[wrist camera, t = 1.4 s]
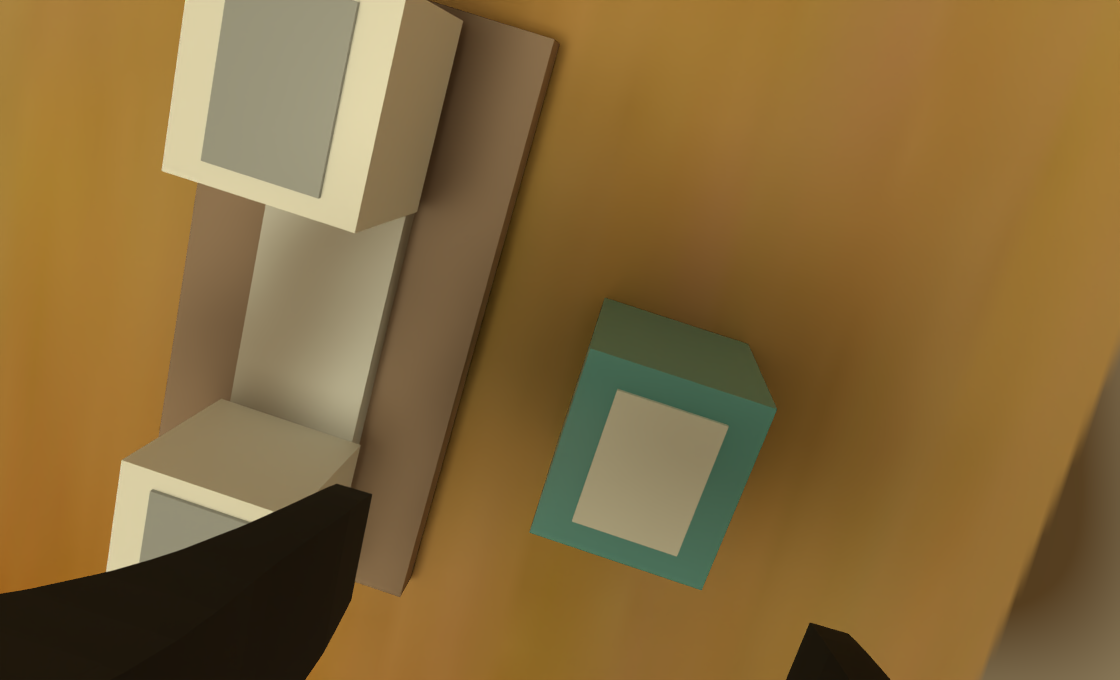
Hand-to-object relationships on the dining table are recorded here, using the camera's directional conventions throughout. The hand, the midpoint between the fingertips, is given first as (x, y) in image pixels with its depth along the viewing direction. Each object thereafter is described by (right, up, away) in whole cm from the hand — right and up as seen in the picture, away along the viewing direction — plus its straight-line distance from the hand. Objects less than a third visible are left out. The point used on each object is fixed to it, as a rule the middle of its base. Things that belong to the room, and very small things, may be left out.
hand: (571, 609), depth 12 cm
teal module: (+2, +3, +9) cm, 10 cm away
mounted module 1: (-5, +10, +6) cm, 13 cm away
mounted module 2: (-8, 0, +9) cm, 12 cm away
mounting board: (-6, +5, +9) cm, 12 cm away
